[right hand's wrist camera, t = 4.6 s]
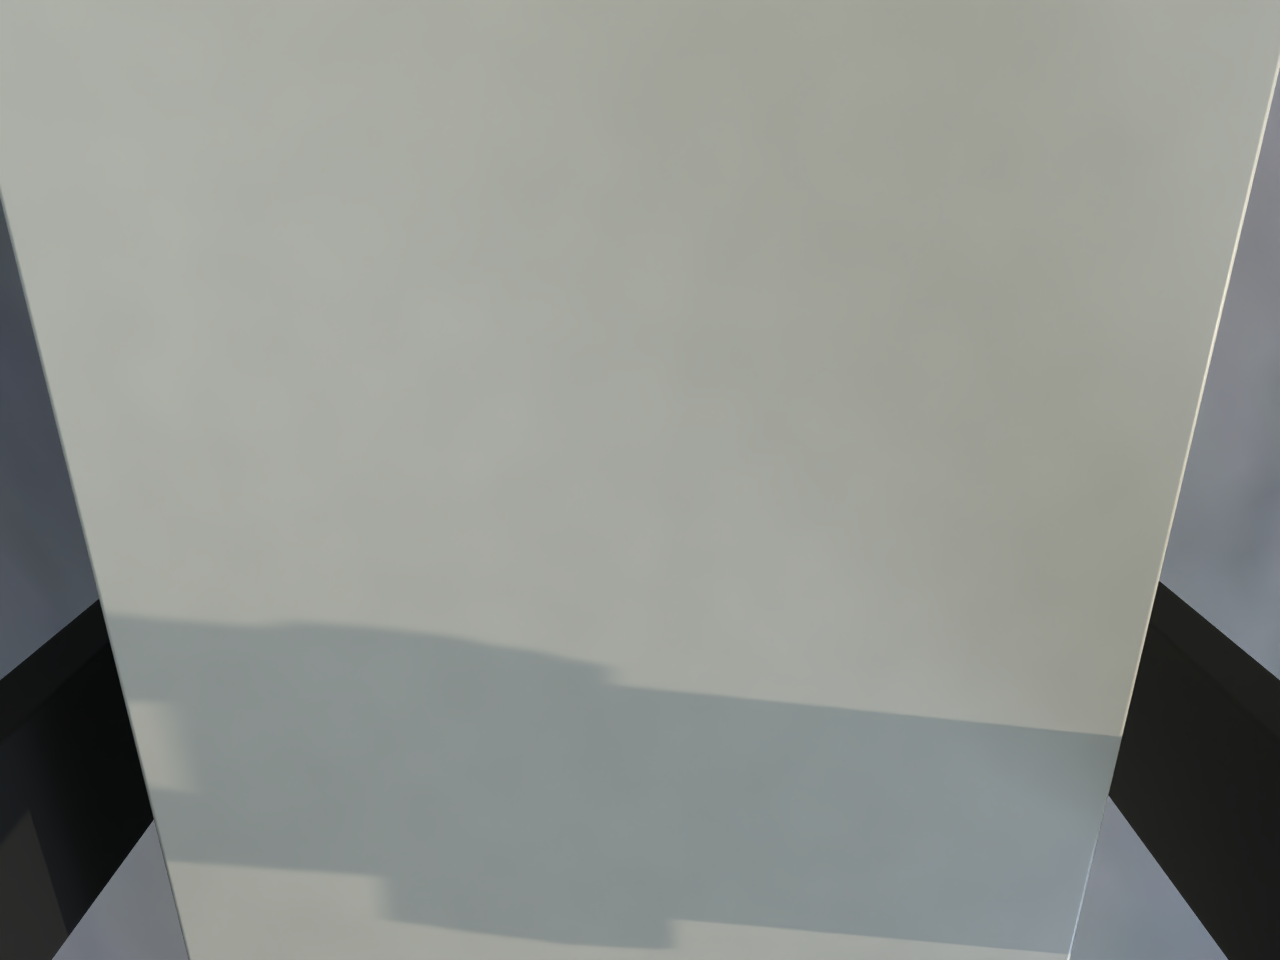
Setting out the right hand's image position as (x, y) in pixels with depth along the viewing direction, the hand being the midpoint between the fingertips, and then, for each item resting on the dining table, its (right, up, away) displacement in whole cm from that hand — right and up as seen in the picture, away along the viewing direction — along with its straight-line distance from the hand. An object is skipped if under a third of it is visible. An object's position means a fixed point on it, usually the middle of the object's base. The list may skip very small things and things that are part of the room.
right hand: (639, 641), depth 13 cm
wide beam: (0, +28, -7) cm, 29 cm away
